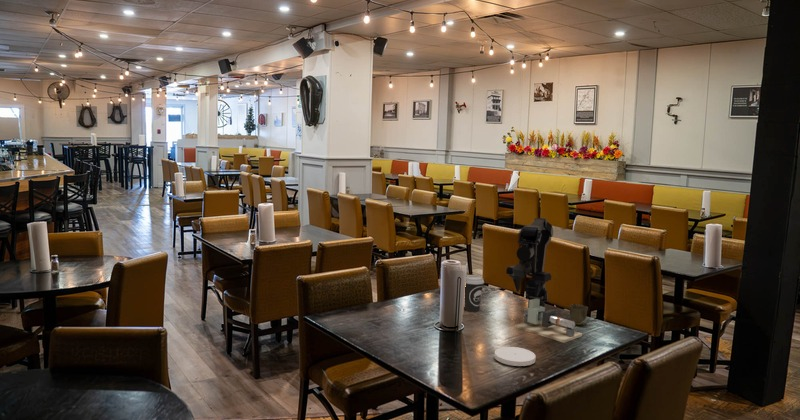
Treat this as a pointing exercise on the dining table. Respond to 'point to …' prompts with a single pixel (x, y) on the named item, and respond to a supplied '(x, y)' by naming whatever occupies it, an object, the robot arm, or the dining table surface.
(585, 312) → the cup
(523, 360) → the plastic lid
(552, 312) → the rubber collar
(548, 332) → the base board
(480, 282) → the coffee cup
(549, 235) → the robot arm
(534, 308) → the sleeve
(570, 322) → the steel pipe
